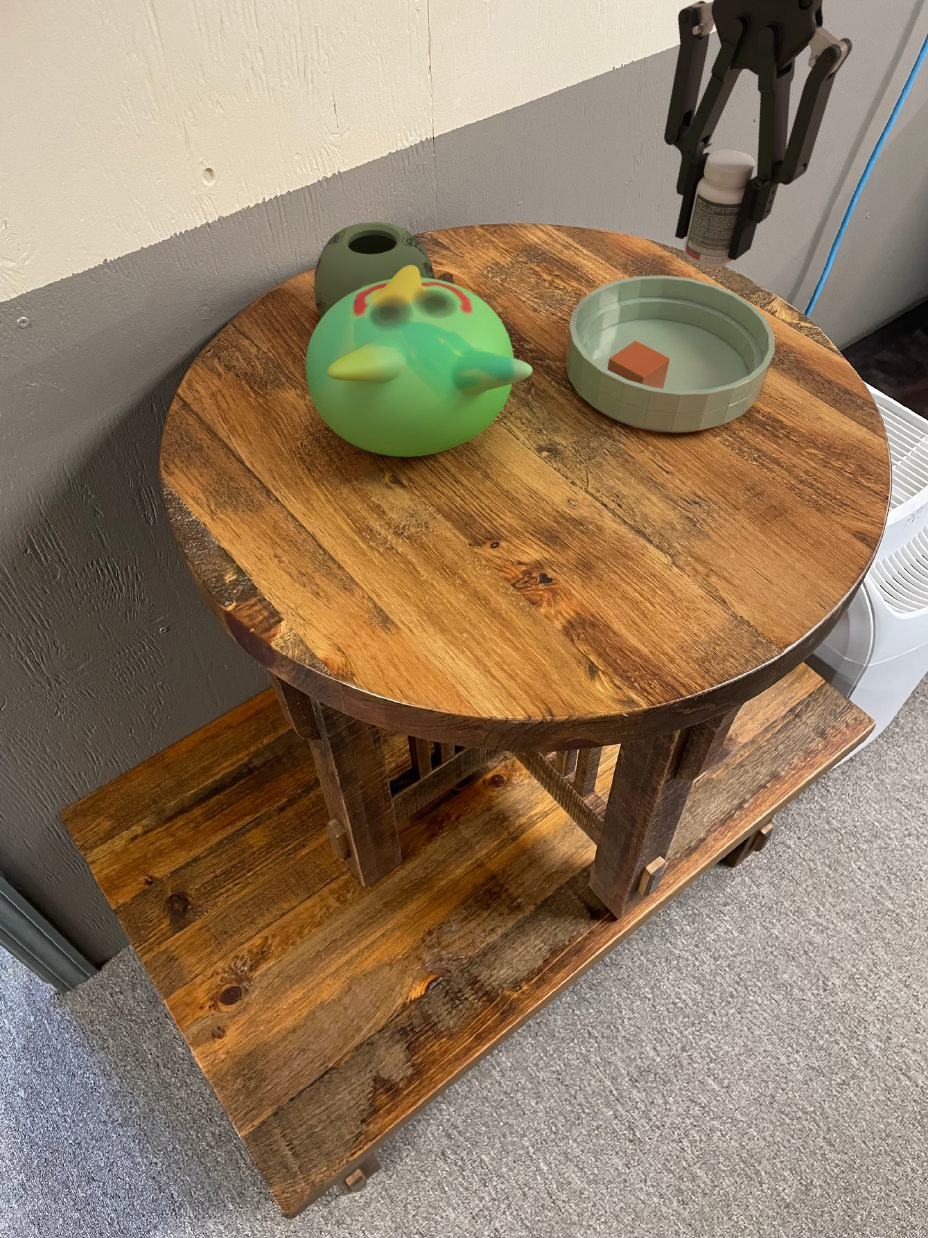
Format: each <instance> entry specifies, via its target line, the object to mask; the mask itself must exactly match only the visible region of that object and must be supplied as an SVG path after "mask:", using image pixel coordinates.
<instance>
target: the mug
mask: <svg viewBox="0 0 928 1238" xmlns="http://www.w3.org/2000/svg"><path fill="white" fill-rule="evenodd" d="M316 263H317V264H316V266H315V267H316V268H315V270H314V281H313V282H314V285H313V293H314V303H315V304H314V305H315V307H316V309H317V312H318V315H319V318H320V320H321V319H322V317H323V316H324V315H325V314H326V312H327V311H328V310H329V309H330V308H331V307H332V306H333V305H335V304H336V303H337V302H338V301H340V300H341V299H342V298H344V297H345V296H347V295H349V294H350V293H352V292H354V291H356V290H358V289H360V288H363V287H365V286H368V285H370V284H373V283H377V282H380V281H384V280H389V279H392V278H393V277H394V276H395V275H396V274H397V273H398V272H399V271H400V270H401V269H402V268H404V267H405V266H408V265H414V266H416V267H417V268H418V269H419V272H420V276H421V278H430V279H436V275H435V270H434V267H433V263H432V260H431V258H430V256H429V254H428V251H427V250H426V248H425V246H424V245H423V244H422V242H421V241H420V240H419V239H418V238H417V237H416V236H415V235H413V234H412V233H411V232H410V231H408V230H407V229H406V228H404V227H401V226H398V225H396V224H393V223H389V222H381V221H380V222H379V221H371V222H370V221H369V222H359V223H356V224H352V225H349V226H346V227H343V228H342V229H341V230H339V231H337V232H336V233H334V234H333V235H332V236H331V237H330V239H328V241H327V242H326V244H325V245H324V247H323V248H322V250H321V252H320V255H319V257H318V260H317V262H316Z"/></svg>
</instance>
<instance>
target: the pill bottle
mask: <svg viewBox="0 0 928 1238" xmlns="http://www.w3.org/2000/svg"><path fill="white" fill-rule="evenodd" d="M710 153H711V154H709V156H708V157H707V161H706V165H705V168H704V177H703V178H702V179H701V180H700V181H699V183H698V185H697V189H696V194H695V199H694V204H693V209H692V214H691V219H690V223H689V228H688V233H687V236H686V237H685V238H686V239H685V243H684V248H683V252H684V255H685V257H686V258H687V259H688V260H689V261H690V262H692V263H694V264H696V265H698V266H701V267H709V268H722V267H727V266H729V265H730V264H732V263H733V262H735V260H732V259H730V258H727V257H728V253H729V249H730V245H731V242H732V238H733V234H734V230H735V226H736V222H737V218H738V214H739V210H740V206H741V202H742V198H743V194H744V190H745V186H746V183H747V182H748V181H750V180H751V179H753V176H754V171H755V167H756V160H755V159H754V158H753V157H752V155H749V154H748V153H745V152H742V151H739V150H733V149H720V150H715V151H712V152H710Z"/></svg>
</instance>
